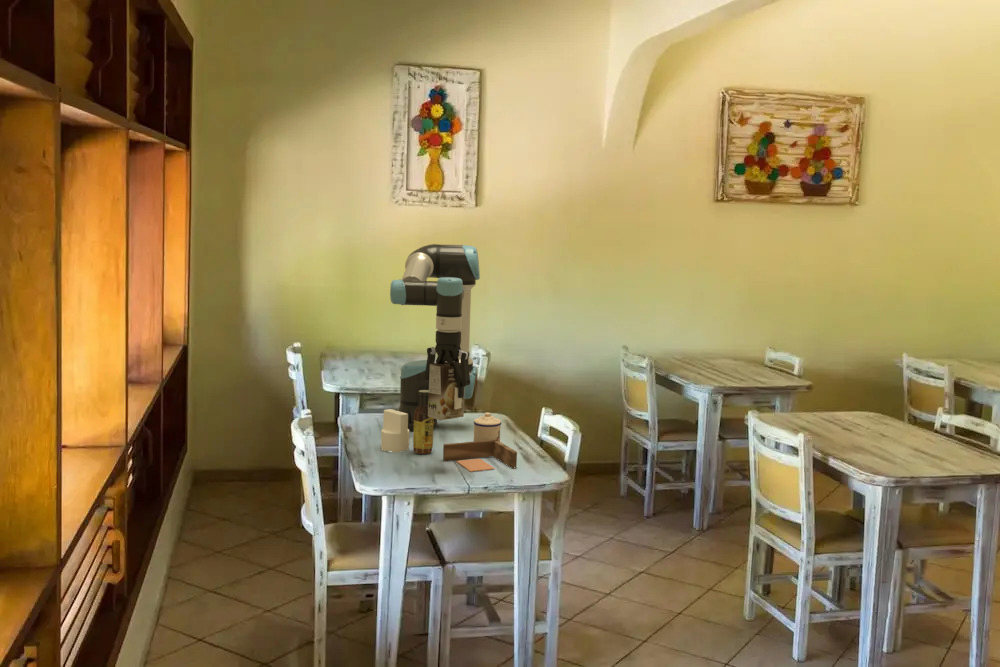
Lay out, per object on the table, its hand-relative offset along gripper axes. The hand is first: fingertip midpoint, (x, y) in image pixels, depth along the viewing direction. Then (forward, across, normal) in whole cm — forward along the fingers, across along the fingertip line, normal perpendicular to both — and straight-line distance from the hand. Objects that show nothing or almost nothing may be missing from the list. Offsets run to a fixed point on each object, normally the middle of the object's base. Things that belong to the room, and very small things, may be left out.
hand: (446, 406), depth 263 cm
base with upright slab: (+19, -25, +8) cm, 33 cm away
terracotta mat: (+19, +6, +8) cm, 21 cm away
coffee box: (+3, 0, 0) cm, 3 cm away
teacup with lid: (+19, -3, +28) cm, 34 cm away
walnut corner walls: (+19, +6, +10) cm, 22 cm away
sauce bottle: (+19, -15, +10) cm, 26 cm away
